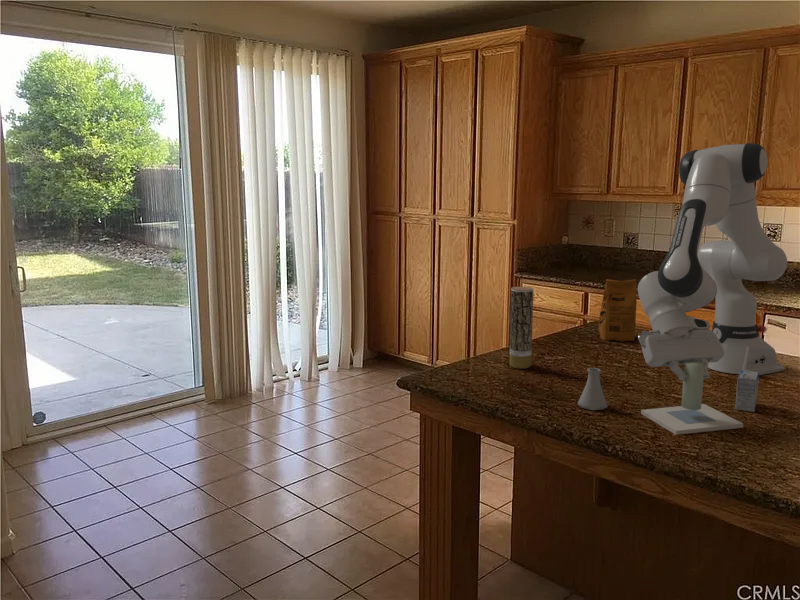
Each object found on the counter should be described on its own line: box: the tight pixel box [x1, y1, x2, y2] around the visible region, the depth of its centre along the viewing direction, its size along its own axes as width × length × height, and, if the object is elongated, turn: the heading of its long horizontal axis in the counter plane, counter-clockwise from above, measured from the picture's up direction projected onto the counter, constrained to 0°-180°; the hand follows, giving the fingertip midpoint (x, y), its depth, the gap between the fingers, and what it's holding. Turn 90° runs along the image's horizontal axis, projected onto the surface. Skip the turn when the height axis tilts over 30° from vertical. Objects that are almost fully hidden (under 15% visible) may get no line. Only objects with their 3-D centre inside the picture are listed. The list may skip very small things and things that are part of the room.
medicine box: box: [734, 370, 760, 413], centre depth 167 cm, size 8×4×9 cm, turn 148°
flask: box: [577, 367, 609, 411], centre depth 168 cm, size 7×7×10 cm
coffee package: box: [598, 278, 638, 342], centre depth 236 cm, size 10×12×22 cm
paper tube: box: [509, 286, 534, 370], centre depth 203 cm, size 7×7×25 cm
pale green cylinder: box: [680, 361, 705, 410], centre depth 157 cm, size 4×4×11 cm
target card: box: [640, 403, 744, 436], centre depth 159 cm, size 18×14×1 cm
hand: (695, 378), depth 156 cm, fingers closed on pale green cylinder, 4 cm apart
